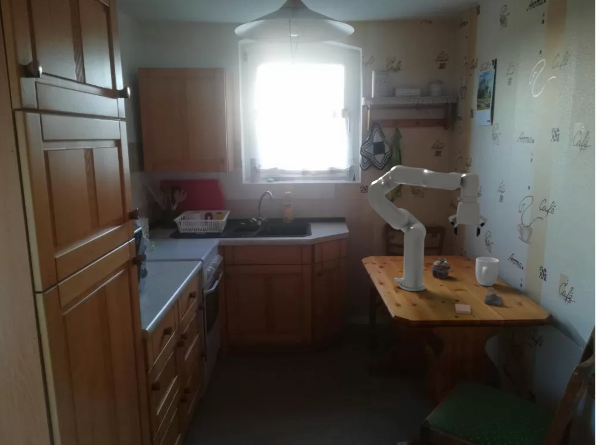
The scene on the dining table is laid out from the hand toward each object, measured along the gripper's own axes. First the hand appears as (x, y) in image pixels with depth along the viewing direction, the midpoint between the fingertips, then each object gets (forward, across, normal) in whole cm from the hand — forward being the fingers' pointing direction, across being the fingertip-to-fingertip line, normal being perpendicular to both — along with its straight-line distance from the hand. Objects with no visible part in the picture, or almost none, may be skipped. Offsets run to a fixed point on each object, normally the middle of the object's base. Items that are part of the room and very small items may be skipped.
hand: (466, 235), depth 224 cm
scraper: (+28, +12, -8) cm, 32 cm away
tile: (+28, -2, -21) cm, 35 cm away
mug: (+28, +12, +16) cm, 35 cm away
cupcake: (+29, -10, +26) cm, 40 cm away
